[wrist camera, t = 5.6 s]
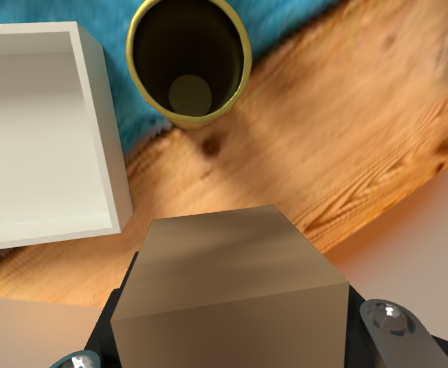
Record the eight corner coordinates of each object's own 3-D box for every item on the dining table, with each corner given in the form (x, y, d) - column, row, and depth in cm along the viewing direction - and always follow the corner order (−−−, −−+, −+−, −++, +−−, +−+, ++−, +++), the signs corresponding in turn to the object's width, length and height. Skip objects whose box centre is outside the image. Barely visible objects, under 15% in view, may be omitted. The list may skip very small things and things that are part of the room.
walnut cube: (273, 205, 10) (349, 281, 5) (276, 303, 11) (338, 438, 6) (152, 220, 9) (110, 321, 5) (170, 321, 11) (151, 483, 6)
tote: (102, 45, 21) (76, 21, 16) (134, 212, 25) (120, 232, 20) (-117, 55, 19) (-218, 31, 15) (-45, 235, 23) (-106, 263, 18)
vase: (193, 142, 24) (197, 162, 11) (145, 99, 23) (78, 57, 9) (233, 97, 24) (291, 58, 10) (187, 50, 22) (182, -73, 9)
